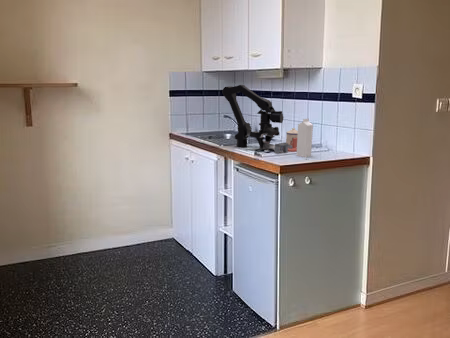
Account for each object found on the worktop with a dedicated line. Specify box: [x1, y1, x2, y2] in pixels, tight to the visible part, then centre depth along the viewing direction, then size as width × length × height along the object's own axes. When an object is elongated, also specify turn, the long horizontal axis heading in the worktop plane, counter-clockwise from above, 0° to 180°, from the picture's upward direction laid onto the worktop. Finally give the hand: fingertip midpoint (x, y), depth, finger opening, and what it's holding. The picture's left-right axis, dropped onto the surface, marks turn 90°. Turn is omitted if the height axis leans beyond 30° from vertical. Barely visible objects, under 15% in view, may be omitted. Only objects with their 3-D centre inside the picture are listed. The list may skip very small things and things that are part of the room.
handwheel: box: [288, 138, 297, 153], centre depth 274 cm, size 12×9×7 cm
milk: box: [296, 118, 314, 160], centre depth 256 cm, size 6×6×22 cm
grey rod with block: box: [259, 140, 282, 151], centre depth 272 cm, size 15×4×4 cm, turn 36°
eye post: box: [274, 142, 289, 155], centre depth 265 cm, size 2×8×5 cm, turn 126°
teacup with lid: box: [285, 127, 298, 146], centre depth 296 cm, size 12×9×12 cm
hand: (264, 147), depth 277 cm, fingers closed on grey rod with block, 4 cm apart
